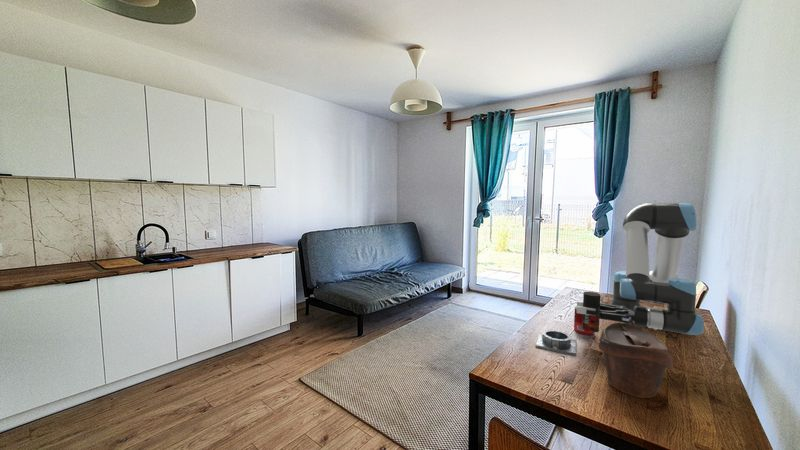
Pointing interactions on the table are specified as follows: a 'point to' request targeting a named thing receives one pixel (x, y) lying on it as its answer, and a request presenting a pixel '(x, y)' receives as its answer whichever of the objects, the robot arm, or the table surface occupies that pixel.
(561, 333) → the hub socket
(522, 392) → the table surface
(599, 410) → the table surface
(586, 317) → the deodorant
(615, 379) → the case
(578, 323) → the canned food
